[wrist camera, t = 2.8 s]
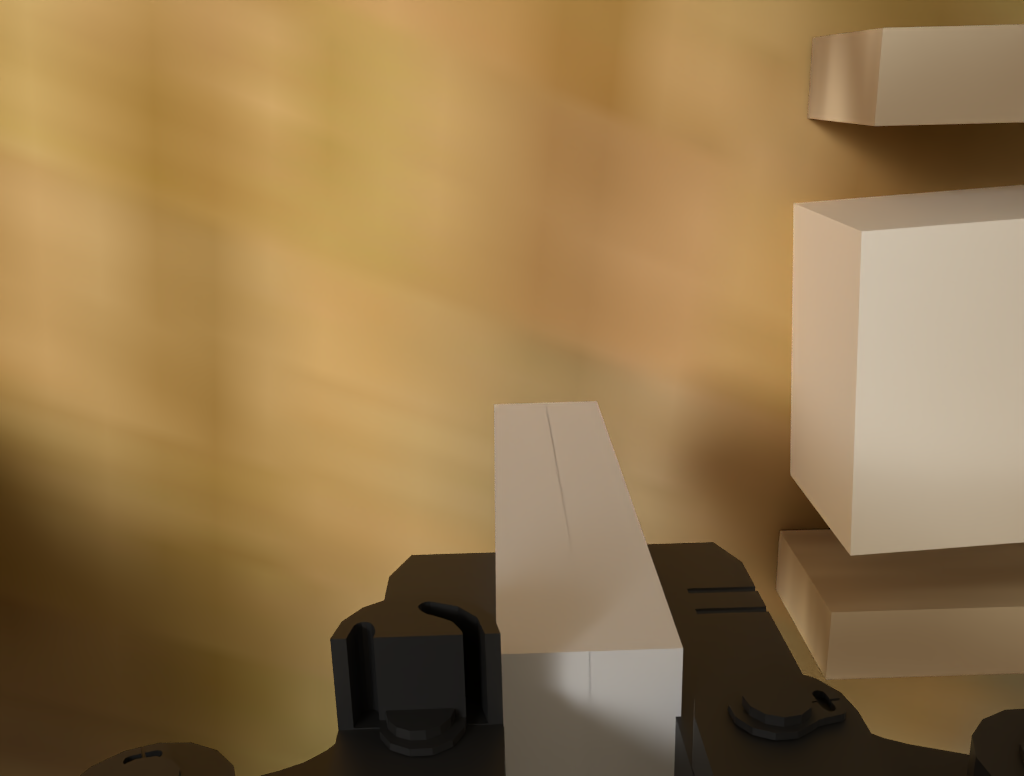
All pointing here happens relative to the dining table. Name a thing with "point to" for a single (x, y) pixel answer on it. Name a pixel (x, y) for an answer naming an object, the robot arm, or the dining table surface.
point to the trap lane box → (923, 573)
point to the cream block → (910, 368)
